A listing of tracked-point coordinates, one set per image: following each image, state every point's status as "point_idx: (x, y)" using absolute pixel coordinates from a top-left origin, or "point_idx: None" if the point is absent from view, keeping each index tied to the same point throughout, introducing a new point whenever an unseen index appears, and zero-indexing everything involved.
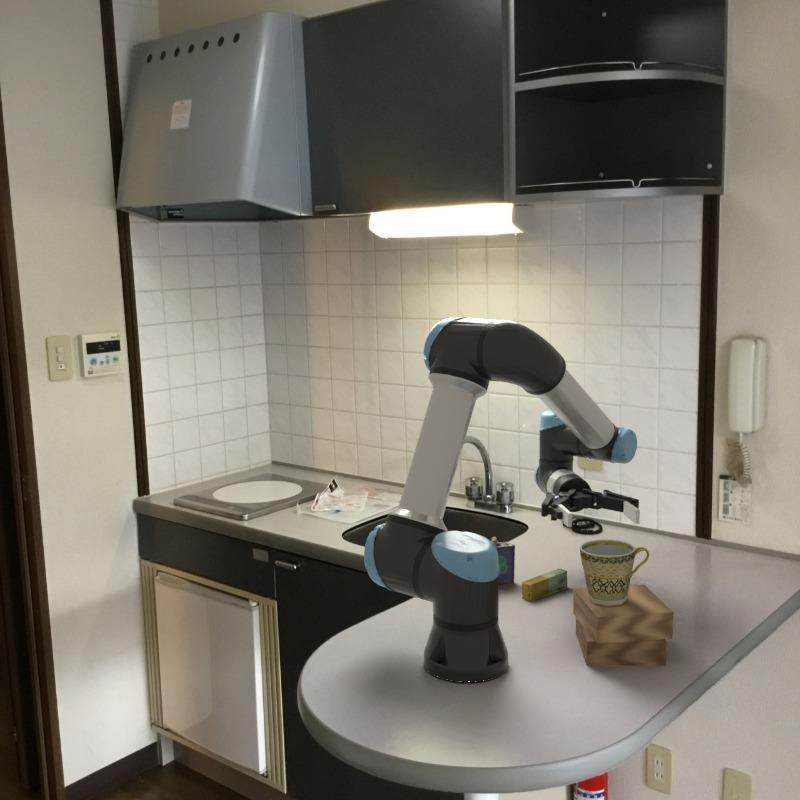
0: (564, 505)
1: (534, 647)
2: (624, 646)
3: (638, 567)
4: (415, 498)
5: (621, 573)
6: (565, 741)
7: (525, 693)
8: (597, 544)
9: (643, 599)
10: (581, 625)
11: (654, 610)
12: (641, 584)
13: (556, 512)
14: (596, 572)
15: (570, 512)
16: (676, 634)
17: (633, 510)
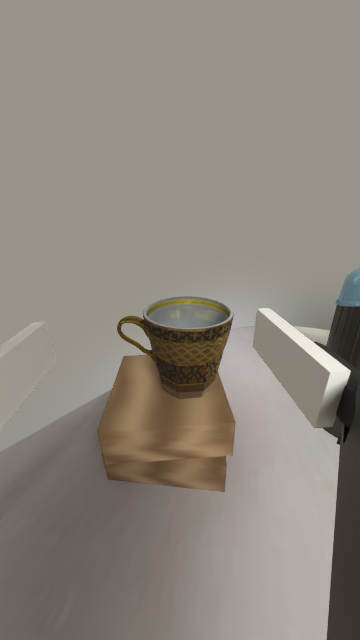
0: (348, 507)
1: (284, 446)
2: None
3: (138, 343)
4: None
5: (177, 322)
6: (239, 335)
7: None
8: (195, 335)
9: (137, 382)
10: None
11: (141, 359)
12: (102, 430)
13: (324, 348)
14: (209, 325)
15: (263, 312)
16: (70, 471)
17: (36, 337)
